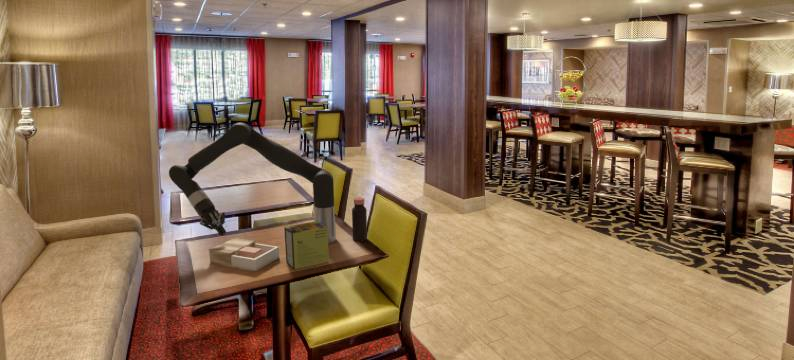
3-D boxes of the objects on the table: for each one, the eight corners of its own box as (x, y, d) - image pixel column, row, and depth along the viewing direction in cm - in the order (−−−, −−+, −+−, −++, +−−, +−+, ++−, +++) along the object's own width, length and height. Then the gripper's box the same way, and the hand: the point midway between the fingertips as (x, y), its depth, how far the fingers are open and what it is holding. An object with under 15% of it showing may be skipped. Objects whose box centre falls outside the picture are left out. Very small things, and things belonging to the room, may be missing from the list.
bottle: (349, 240, 237) (348, 199, 233) (357, 236, 243) (356, 196, 239) (362, 242, 234) (361, 201, 230) (369, 238, 240) (369, 197, 235)
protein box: (329, 262, 211) (328, 226, 208) (294, 269, 203) (292, 233, 200) (319, 254, 220) (318, 220, 217) (285, 261, 212) (283, 226, 209)
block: (245, 246, 213) (261, 248, 211) (246, 257, 214) (262, 259, 212) (238, 250, 209) (254, 252, 206) (239, 261, 210) (255, 264, 207)
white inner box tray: (256, 254, 221) (255, 243, 219) (279, 257, 216) (278, 246, 215) (231, 267, 206) (230, 255, 205) (255, 271, 202) (254, 259, 201)
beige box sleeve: (236, 250, 225) (235, 237, 224) (256, 253, 221) (255, 240, 219) (210, 263, 210) (209, 249, 209) (231, 267, 206) (230, 253, 205)
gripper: (192, 201, 210) (216, 233, 208) (217, 194, 222) (239, 225, 219) (184, 211, 214) (207, 243, 211) (209, 204, 225) (231, 234, 223)
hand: (223, 234), depth 215 cm, fingers closed
